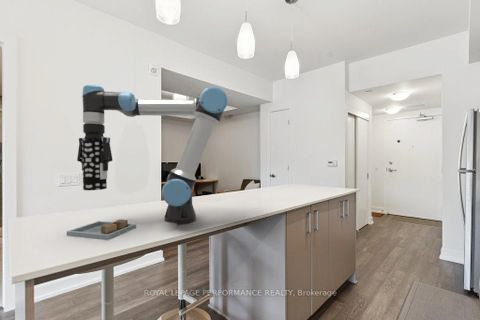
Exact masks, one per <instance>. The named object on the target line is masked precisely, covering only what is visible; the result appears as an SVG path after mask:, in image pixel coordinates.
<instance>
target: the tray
mask: <svg viewBox="0 0 480 320" xmlns="http://www.w3.org/2000/svg"><path fill="white" fill-rule="evenodd" d="M113 222H114V221H101V220H98V221H95V222H91V223H88V224H85V225H82V226H80V227H76V228H73V229H70V230H67V231H66V237H74V238H85V239H91V240H92V239H93V240H101V241H102V240H104V241H109V240H112V239H114V238H116V237H119V236H121V235H124V234H126V233H128V232H131V231H132V230H135V229H136V228H137V224H136V223H128V227H125V228H123V229H120V230H118V231H115V232H113V233H110V234H101V226H102V225H106V224H110V223H112V224H113Z"/></svg>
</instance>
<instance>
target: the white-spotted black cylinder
mask: <svg viewBox="0 0 480 320" xmlns="http://www.w3.org/2000/svg"><path fill="white" fill-rule="evenodd" d="M100 150H101V151H104V149H103V142H102V141H100V140H82V154H83V171H82V190H83V191H100V190H106V189H107V188H108V187H107V185H108V184H107V183H108V182H107V179H100V163H101V162H102V161H101V159H100ZM104 160H105V159H104Z"/></svg>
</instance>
